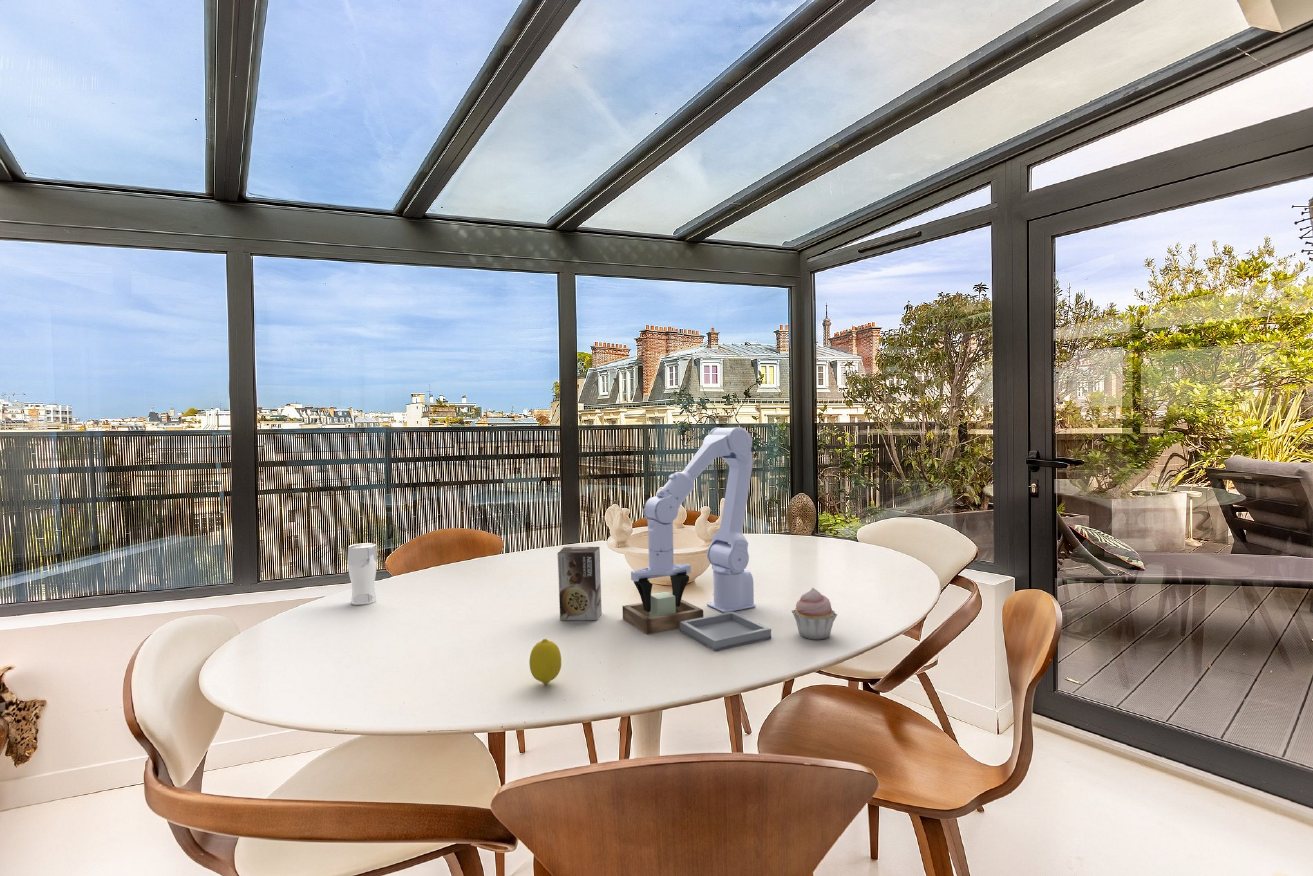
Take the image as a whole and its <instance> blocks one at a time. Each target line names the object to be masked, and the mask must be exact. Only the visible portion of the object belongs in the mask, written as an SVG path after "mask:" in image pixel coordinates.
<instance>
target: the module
mask: <svg viewBox="0 0 1313 876" xmlns="http://www.w3.org/2000/svg"><path fill="white" fill-rule="evenodd" d="M673 613H677V612H676V605H675V596H674V595H672V593H670V592H668V591H663V592H656V593H655V592H654V593H651V611H650V612H649V616H648V618H652V617H657V616H662V615H668V614H673Z"/></svg>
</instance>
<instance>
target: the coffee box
mask: <svg viewBox="0 0 1313 876" xmlns="http://www.w3.org/2000/svg"><path fill="white" fill-rule="evenodd" d="M600 551H601V550H600V546H566V547H565V546H563V548H561V549H560V551H558V552H557V555H556V556H557V569H558V570H557V571H558V592H559V593H558V595H559V597H558V598H559V601H558V602H559V621H597V620H598V619H599V618H600V616H601V614H602V613H603V612H602V584H601V583H602V582H601V557H600V556H601V555H600V554H601V553H600Z"/></svg>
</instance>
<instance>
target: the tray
mask: <svg viewBox="0 0 1313 876" xmlns="http://www.w3.org/2000/svg"><path fill="white" fill-rule="evenodd" d="M679 631H680V632H681V633H683V634H685V635H686V636H688V637H690V638H692V639H694V640H695V641H697V642H699V643H701V644H702V645H704V646H705V647H707V648H709V649H711V650H712V651H715V652H717V651H721V650H726V649H730V648H733V647H738V646H742V645H747V644H748V645H749V644H752V643H757V642H761V641H765V640H769V639H770V640H771V639H772V628H770V627H768V626H766V625H763V624H761V623H759V622H757V621H755V620H752V619H750V618H748V617H746V616H744V615H742V614H739V613H737V612H735V611H731V612H725V613H724V612H721V613H718V614H712V615H708V616H707V615H706V616H703V617H701V618H696V619H691V620H686V621H681V622H680V628H679Z"/></svg>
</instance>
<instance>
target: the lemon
mask: <svg viewBox="0 0 1313 876" xmlns="http://www.w3.org/2000/svg"><path fill="white" fill-rule="evenodd" d="M529 655H530V656H529V661H528V662H529V669H530V674H531V675H532V677H533V678H534V679H535V680H537V681H538V682H541V683H542V684H544V685H548V684H549V683H550V682H551V681H553V680H554V679H556V678H557V677H558V675H559V674H560V671H561V669H562V655H561V651H560V648H559V646H558V645H557V644H556V643H555V642H553V641H551V640H549V639H547V638H543V639H542V640H541V641H538V642H537V643H536V644H535V645H534V646H533V647H532V649H531V651H530V654H529Z"/></svg>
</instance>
